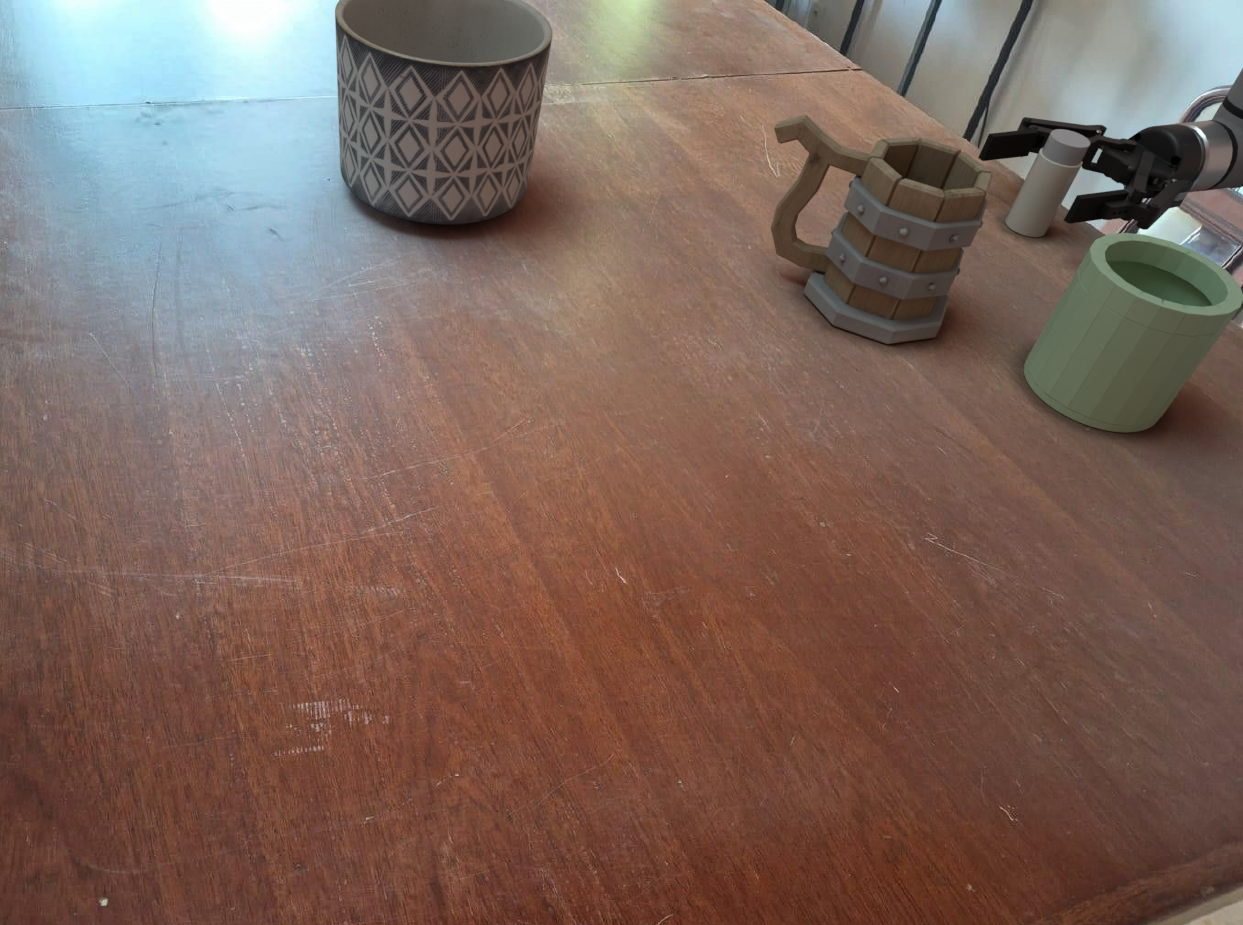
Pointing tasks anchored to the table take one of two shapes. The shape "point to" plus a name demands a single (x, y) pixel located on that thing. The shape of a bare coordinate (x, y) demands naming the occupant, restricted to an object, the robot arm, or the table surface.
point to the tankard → (884, 231)
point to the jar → (1130, 331)
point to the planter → (439, 104)
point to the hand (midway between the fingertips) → (1027, 177)
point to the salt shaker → (1047, 183)
